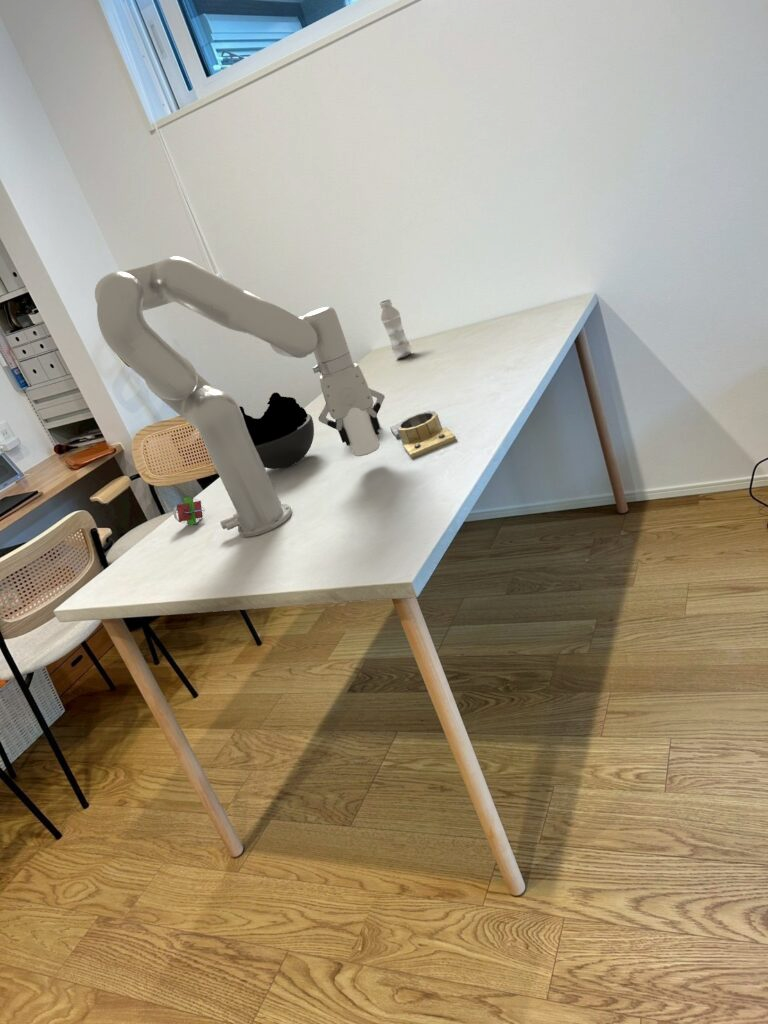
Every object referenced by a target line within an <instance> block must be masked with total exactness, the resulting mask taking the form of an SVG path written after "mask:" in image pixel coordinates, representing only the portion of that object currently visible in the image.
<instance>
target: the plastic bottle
mask: <svg viewBox="0 0 768 1024" xmlns="http://www.w3.org/2000/svg"><path fill="white" fill-rule="evenodd" d="M379 305H380V309H382V311H381V315H380V320H381V322H382V324H383V326H384V328H385V330H386V332H387V335H388V337H389V341H390V344H391V350H392V354H393V356H394V358H396V359H403V358H407V357H408V356H409V355H411V354H412V349H413V348H412V345H411V342H410V341H409V340H408V338H407V336H406V333H405V331H404V327H403V323H402V318H401V314H400V311H399V310H398V309H397V308H396V307H394V306H393V304H392V301H391V299H385V300H383V301H381V302H380V303H379Z"/></svg>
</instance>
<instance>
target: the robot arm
mask: <svg viewBox="0 0 768 1024" xmlns="http://www.w3.org/2000/svg"><path fill="white" fill-rule="evenodd" d="M94 299H95V302H96V316H97V322H98V327H99V329H100V333H101V335H102V337H103V339H104V340H105V341H104V342H105V343H106V344H107V346H108V347H109V348H110V349H111V350H112V351H113V353H114V354H115V355H116V356H117V357H119V359H121V360H122V361H123V362H124V363H125V364H126V365H127V366H129V368H130V369H132V371H133V372H135V374H137V375H138V376H139V377H141V378H142V379H143V380H144V382H145V384H146V386H147V388H148V389H149V390H150V391H151V392H152V393H153V394H154V395H155V396H156V397H157V398H159V399H160V400H161V401H162V402H164V404H166V405H167V406H168V407H169V408H170V409H172V410H173V411H174V412H175V413H177V414H178V416H180V417H181V418H182V419H184V420H185V421H186V422H187V423H188V424H190V425H191V426H192V427H194V428H195V429H197V431H198V432H199V435H200V436H201V439H202V441H203V443H204V446H205V448H206V450H207V453H208V455H209V458H210V461H211V463H213V465H214V468H215V470H216V472H217V474H218V476H219V478H220V480H221V483H222V484H223V486H224V488H225V491H226V492H227V494H228V496H229V498H230V500H231V502H232V505H233V506H234V509H235V512H236V513H234V514H233V515H232V517H230V518H225V519H223V520H220V526H221V528H222V530H225V529H226V530H227V531H230V530H233V529H235V528H236V527H237V532H238V533H239V535H240V536H241V537H247V538H251V537H255V536H259V535H263V534H266V533H267V532H270V531H272V530H274V529H276V528H278V527H279V526H281V525H283V523H285V522H286V521H287V520H288V519H290V517H291V516H292V513H293V510H292V508H291V505H289V504H286V503H281V501H280V497H279V496H278V493H277V492H276V490H275V487H274V485H273V483H272V481H271V479H270V477H269V474H268V471H267V470H266V468H265V467H264V465H263V463H262V461H261V459H260V456H259V454H258V452H257V450H256V448H255V446H254V443H253V441H252V439H251V437H250V434H249V432H248V429H247V427H246V424H245V421H244V418H243V415H242V412H241V410H240V408H239V407H240V406H239V404H238V403H237V401H236V400H235V399H234V397H233V396H231V395H230V394H229V393H227V392H226V391H222V390H221V389H218V388H216V387H214V386H213V385H212V384H210V383H209V382H208V381H207V380H206V379H204V377H203V376H201V375H200V374H199V373H198V372H197V370H196V368H195V367H194V365H193V364H192V363H191V362H190V361H189V360H188V359H187V358H186V357H185V356H183V355H182V354H180V353H179V352H178V351H177V350H176V349H175V348H173V347H172V346H171V345H170V344H169V343H167V342H166V340H164V339H163V337H161V336H160V335H159V334H158V333H157V332H156V331H155V330H154V329H153V328H151V326H150V325H149V324H148V323H147V321H146V319H145V317H144V314H143V312H144V311H148V310H151V309H154V308H158V307H162V306H165V305H168V304H171V303H174V302H175V303H177V304H179V305H181V306H183V307H185V308H186V309H188V310H190V311H192V312H194V313H196V314H199V315H200V316H202V317H203V318H207V319H208V320H210V321H212V322H214V323H216V324H217V325H220V326H222V327H224V328H227V329H228V330H231V331H235V332H240V333H242V334H243V333H244V334H247V335H249V336H251V337H255V338H256V339H259V340H262V341H263V342H266V343H268V344H270V347H271V349H272V350H273V351H274V352H275V353H276V354H278V355H279V356H283V357H287V358H297V359H302V358H306V357H309V356H310V355H312V354H314V358H315V359H316V365H315V366H313V367H312V371H313V373H314V374H316V373H318V374H320V376H319V383H320V387H321V392H322V395H323V398H324V402H325V404H324V406H323V409H322V410H321V412H320V415H319V416H318V421H319V422H320V423H322V424H324V425H326V426H328V427H330V428H331V429H335V430H336V431H338V434H339V436H340V439H341V442H342V444H343V443H345V444H346V447H349V446H350V443H349V440H348V437H347V435H346V432H345V429H344V428H343V426H342V418H345V417H346V416H347V413H348V411H349V410H350V409H352V408H359V409H360V410H362V411H364V410H367V412H368V413H369V415H370V418H371V422H372V425H373V427H374V430H375V433H376V436H377V435H380V433H379V430H381V425H380V426H379V423H380V422H379V423H378V421H379V419H378V420H377V418H378V413H379V411H380V409H381V408H382V404H383V402H384V400H385V395H384V393H381V392H379V391H378V390H377V391H376V390H374V389H372V388H370V387H369V385H368V382H367V380H366V378H365V375H364V372H363V371H362V369H361V367H360V365H359V364H357V363H355V362H354V360H353V357H352V354H351V352H350V349H349V345H348V343H347V340H346V337H345V334H344V332H343V329H342V326H341V323H340V319H339V318H338V314H337V312H336V310H335V309H334V308H333V307H332V306H325V307H320V308H317V309H315V310H311V311H309V312H308V313H306V314H305V315H303V316H297V315H295V314H294V313H292V312H290V311H288V310H286V309H284V308H282V307H280V306H278V305H276V304H274V303H272V302H269V301H267V300H266V299H263V298H261V297H259V296H257V295H256V294H253V293H252V292H251V291H250V292H249V291H247V290H245V289H242V288H240V287H239V286H238V285H236V284H233V283H231V282H230V281H228V280H225V279H224V278H222V277H220V276H218V275H217V274H215V273H213V272H211V271H210V270H207V269H205V268H203V267H202V266H200V265H198V264H197V263H195V262H193V261H191V260H189V259H186V258H184V257H182V256H170V257H167V258H164V259H162V260H158V261H157V262H153V263H149V264H146V265H142V266H139V267H135V268H131V269H128V270H123V271H114V272H110V273H109V274H106V275H105V276H103V277H102V278H100V279H99V281H98V282H97V284H96V285H95V288H94ZM373 397H374V398H376V401H375V402H374V399H373ZM352 404H353V405H352ZM350 405H352V406H350ZM372 405H373V408H372V407H371V406H372ZM328 414H329V415H330V417H331V418H332V419H333V420H331V419H329V418H328V417H327V416H328Z"/></svg>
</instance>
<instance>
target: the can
mask: <svg viewBox="0 0 768 1024" xmlns="http://www.w3.org/2000/svg"><path fill="white" fill-rule="evenodd" d="M352 405H353V404H352ZM352 405H350V406H352ZM342 425H343V428H344V429H345V432H346V435H347V437H348V440H349V443H350V445H349V446H350V449H351V452H352V454H353V456H355V457H362V456H363V457H364V456H368V455H370V454H372V453H375V452H376V451H377V450H379V448H380V442H379V439H378V436H377V435H376V433H375V430H374V427H373V425H372V422H371V418H370V415H369V413H368V412H367V410H364V411H362V410H360V409H359V408H352V409H350V410H349V411H348V413H347V416H346V417H345V418H342Z"/></svg>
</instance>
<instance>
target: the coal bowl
mask: <svg viewBox="0 0 768 1024" xmlns="http://www.w3.org/2000/svg"><path fill="white" fill-rule="evenodd" d="M268 400H269V401H268V402H267V405H268V406H267V408H266V410H265V411H264V412H263V415H262V416H260V417H258V418H257V417H255V418H254V417H253V416H250V415H249V414H246V413H245V408H244V407H243V406H241V405H240V406H239V408H240V410H241V412H242V415H243V418H244V421H245V424H246V427H247V429H248V432H249V434H250V437H251V439H252V441H253V443H254V446H255V448H256V450H257V452H258V454H259V456H260V459H261V461H262V463H263V465H264V467H265V469H270V470H281V469H287V468H290V467H292V466H294V465H296V464H297V463H299V462H300V461H301V460H302V459H303V458H304V457H305V456H306V455H307V454H308V452H309V451H310V449H311V448H312V444H313V442H314V435H315V427H314V424H315V423H314V419H313V416H312V415H311V414H309V413H307V411H306V409H305V408H304V407H302V406H300V404H299V403H298V402H297V400H296V399H295V398H294V397H291V396H282V395H280V393H279V392H272V394H271V395H270V397H269V398H268Z"/></svg>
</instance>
